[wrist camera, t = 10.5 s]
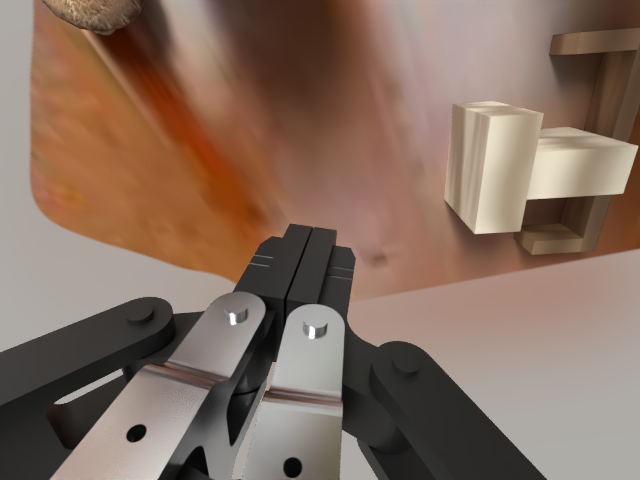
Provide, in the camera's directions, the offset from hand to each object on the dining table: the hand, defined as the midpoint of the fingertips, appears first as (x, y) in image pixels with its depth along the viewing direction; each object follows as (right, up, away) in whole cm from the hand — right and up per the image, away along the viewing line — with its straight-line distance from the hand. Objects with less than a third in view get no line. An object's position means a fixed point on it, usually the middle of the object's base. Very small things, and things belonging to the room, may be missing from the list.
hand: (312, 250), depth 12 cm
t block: (+20, +10, +26) cm, 34 cm away
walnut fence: (+26, +10, +26) cm, 38 cm away
